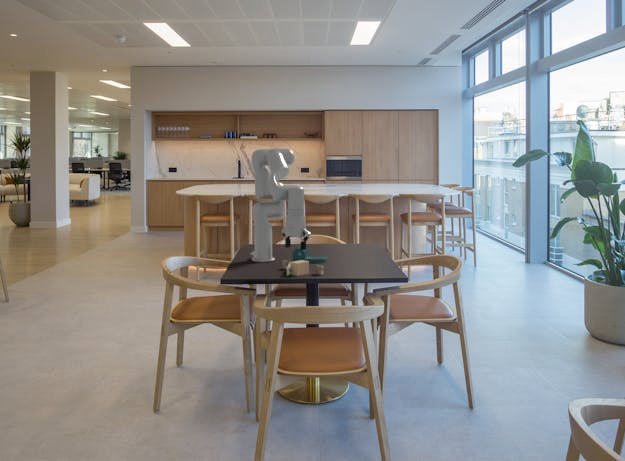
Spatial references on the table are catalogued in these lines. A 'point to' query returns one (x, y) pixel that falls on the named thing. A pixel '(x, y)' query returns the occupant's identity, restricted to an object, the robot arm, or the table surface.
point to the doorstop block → (299, 267)
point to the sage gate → (288, 269)
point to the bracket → (304, 256)
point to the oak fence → (318, 269)
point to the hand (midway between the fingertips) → (295, 248)
